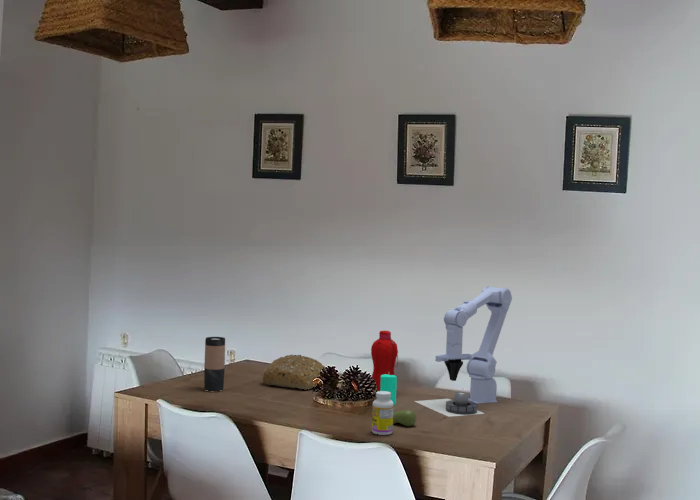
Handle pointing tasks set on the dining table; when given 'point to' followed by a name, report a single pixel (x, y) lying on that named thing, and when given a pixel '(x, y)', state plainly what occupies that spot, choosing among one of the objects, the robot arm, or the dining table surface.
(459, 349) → the robot arm
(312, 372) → the bread
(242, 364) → the dining table surface
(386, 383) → the candle
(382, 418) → the supplement bottle
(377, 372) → the water bottle
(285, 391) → the dining table surface
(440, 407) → the mat
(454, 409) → the toothed grey gear
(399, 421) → the pear
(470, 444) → the dining table surface
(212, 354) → the travel mug
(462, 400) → the cap
